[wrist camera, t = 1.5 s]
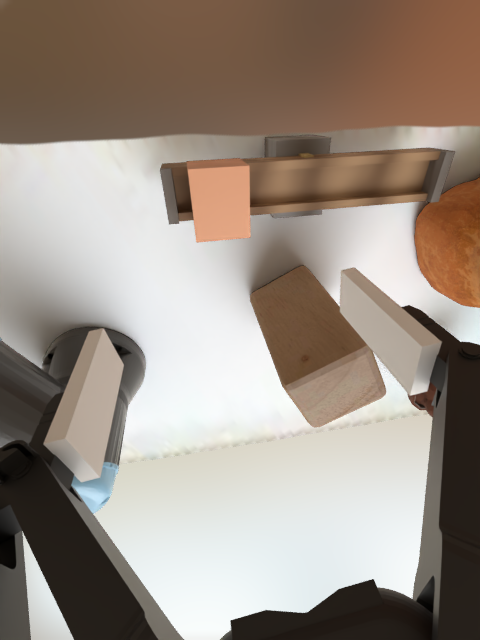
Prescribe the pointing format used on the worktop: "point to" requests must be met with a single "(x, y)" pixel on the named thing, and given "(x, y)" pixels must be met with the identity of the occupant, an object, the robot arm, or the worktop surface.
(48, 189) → the worktop surface
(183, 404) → the worktop surface
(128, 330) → the worktop surface
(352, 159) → the beam
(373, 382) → the wooden block
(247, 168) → the block
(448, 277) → the bread
